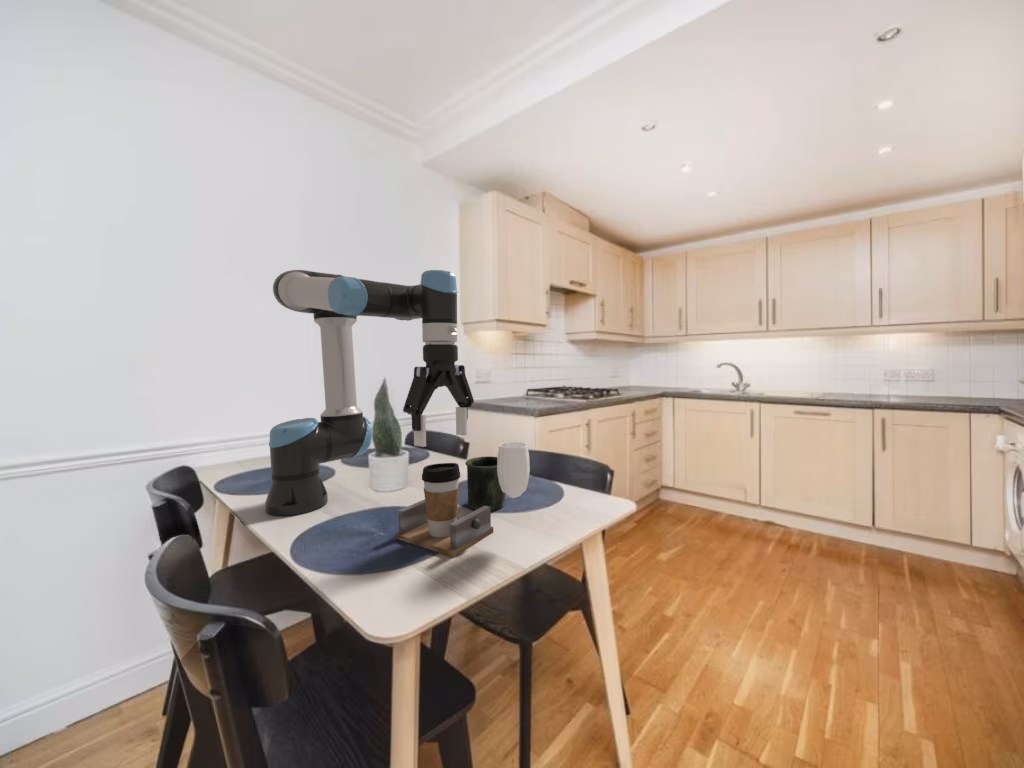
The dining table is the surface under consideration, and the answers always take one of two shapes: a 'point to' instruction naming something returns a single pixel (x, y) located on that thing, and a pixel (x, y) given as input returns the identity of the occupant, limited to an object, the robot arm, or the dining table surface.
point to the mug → (484, 483)
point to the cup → (513, 468)
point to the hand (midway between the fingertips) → (442, 440)
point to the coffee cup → (441, 496)
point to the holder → (461, 531)
